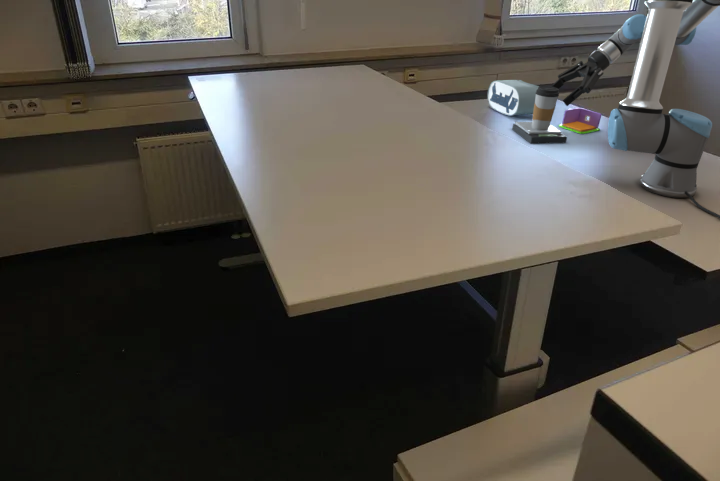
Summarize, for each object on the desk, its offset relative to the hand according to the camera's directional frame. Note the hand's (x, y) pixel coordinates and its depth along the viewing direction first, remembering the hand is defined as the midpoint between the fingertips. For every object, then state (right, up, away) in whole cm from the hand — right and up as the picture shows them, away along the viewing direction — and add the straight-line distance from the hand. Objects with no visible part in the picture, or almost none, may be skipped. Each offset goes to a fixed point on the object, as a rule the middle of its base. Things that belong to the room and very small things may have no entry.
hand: (555, 98), depth 197 cm
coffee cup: (-4, -10, +5) cm, 12 cm away
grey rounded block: (-4, +4, +36) cm, 36 cm away
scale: (-4, -13, +7) cm, 15 cm away
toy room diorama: (+16, -7, +18) cm, 25 cm away
